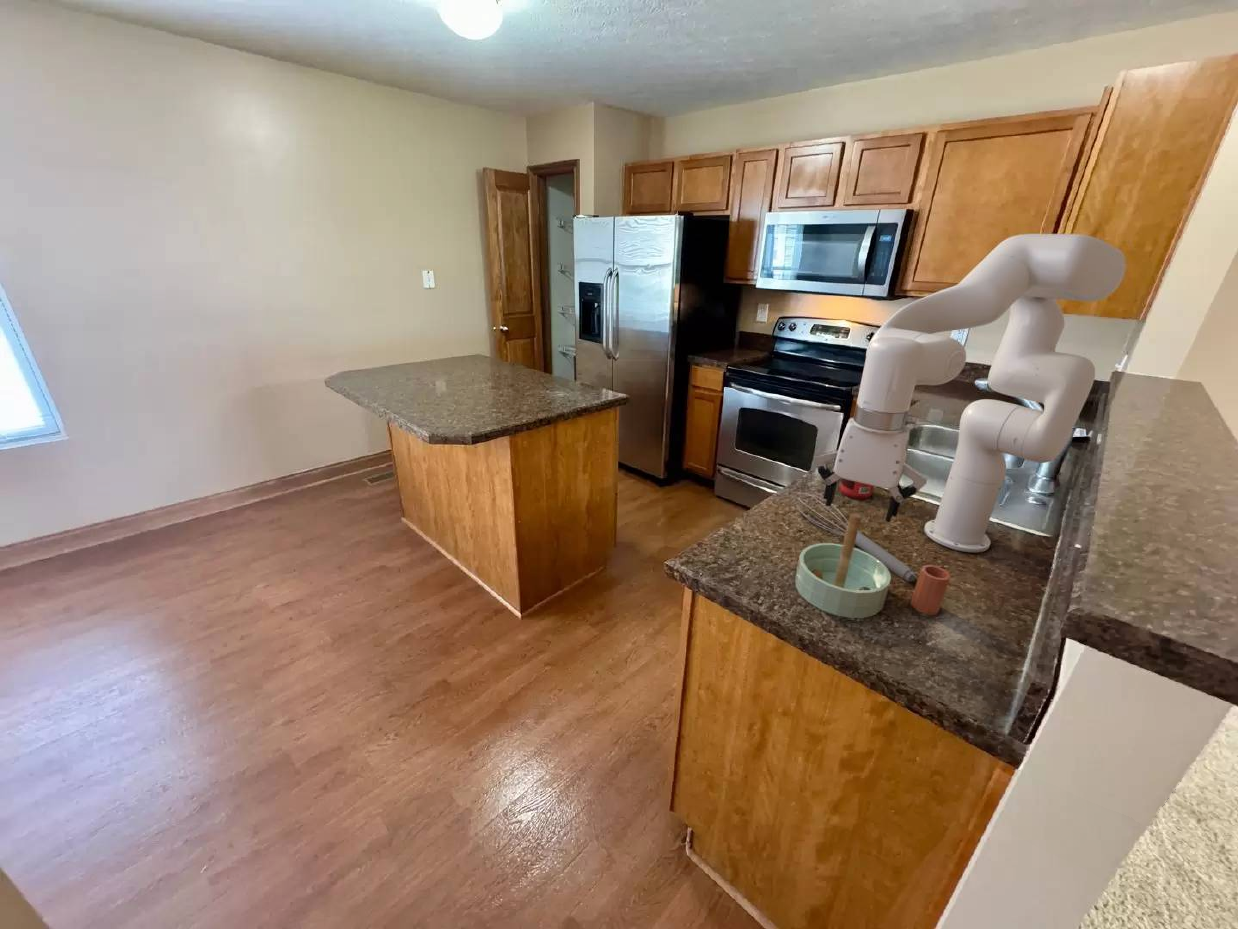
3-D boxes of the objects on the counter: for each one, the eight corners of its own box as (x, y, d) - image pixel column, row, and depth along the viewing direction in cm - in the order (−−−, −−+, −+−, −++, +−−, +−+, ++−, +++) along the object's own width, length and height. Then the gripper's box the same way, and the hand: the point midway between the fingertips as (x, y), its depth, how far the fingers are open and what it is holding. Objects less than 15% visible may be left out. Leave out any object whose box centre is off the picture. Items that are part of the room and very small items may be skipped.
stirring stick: (833, 586, 97) (851, 512, 90) (843, 589, 96) (862, 514, 89) (831, 591, 95) (849, 516, 89) (841, 594, 94) (860, 519, 88)
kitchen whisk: (909, 594, 96) (917, 565, 93) (788, 512, 124) (792, 489, 122) (932, 586, 98) (941, 559, 96) (808, 508, 127) (813, 485, 124)
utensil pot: (911, 598, 95) (922, 561, 92) (938, 607, 93) (951, 570, 89) (908, 611, 91) (920, 574, 88) (937, 620, 89) (950, 583, 86)
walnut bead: (858, 593, 95) (861, 582, 94) (872, 597, 94) (875, 587, 93) (855, 600, 93) (858, 589, 92) (870, 604, 92) (873, 594, 91)
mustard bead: (810, 575, 100) (812, 565, 99) (823, 579, 98) (825, 569, 97) (807, 581, 98) (809, 571, 97) (820, 586, 97) (822, 575, 96)
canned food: (875, 492, 135) (885, 454, 130) (864, 502, 130) (874, 462, 125) (846, 483, 140) (855, 446, 135) (834, 492, 134) (843, 454, 130)
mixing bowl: (806, 559, 106) (811, 534, 103) (888, 586, 98) (895, 559, 96) (784, 599, 94) (789, 572, 91) (875, 633, 86) (884, 604, 84)
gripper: (943, 420, 81) (916, 515, 88) (828, 402, 89) (812, 490, 96) (940, 435, 75) (911, 535, 82) (818, 413, 83) (802, 506, 90)
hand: (858, 510), depth 89 cm, fingers open, 9 cm apart
